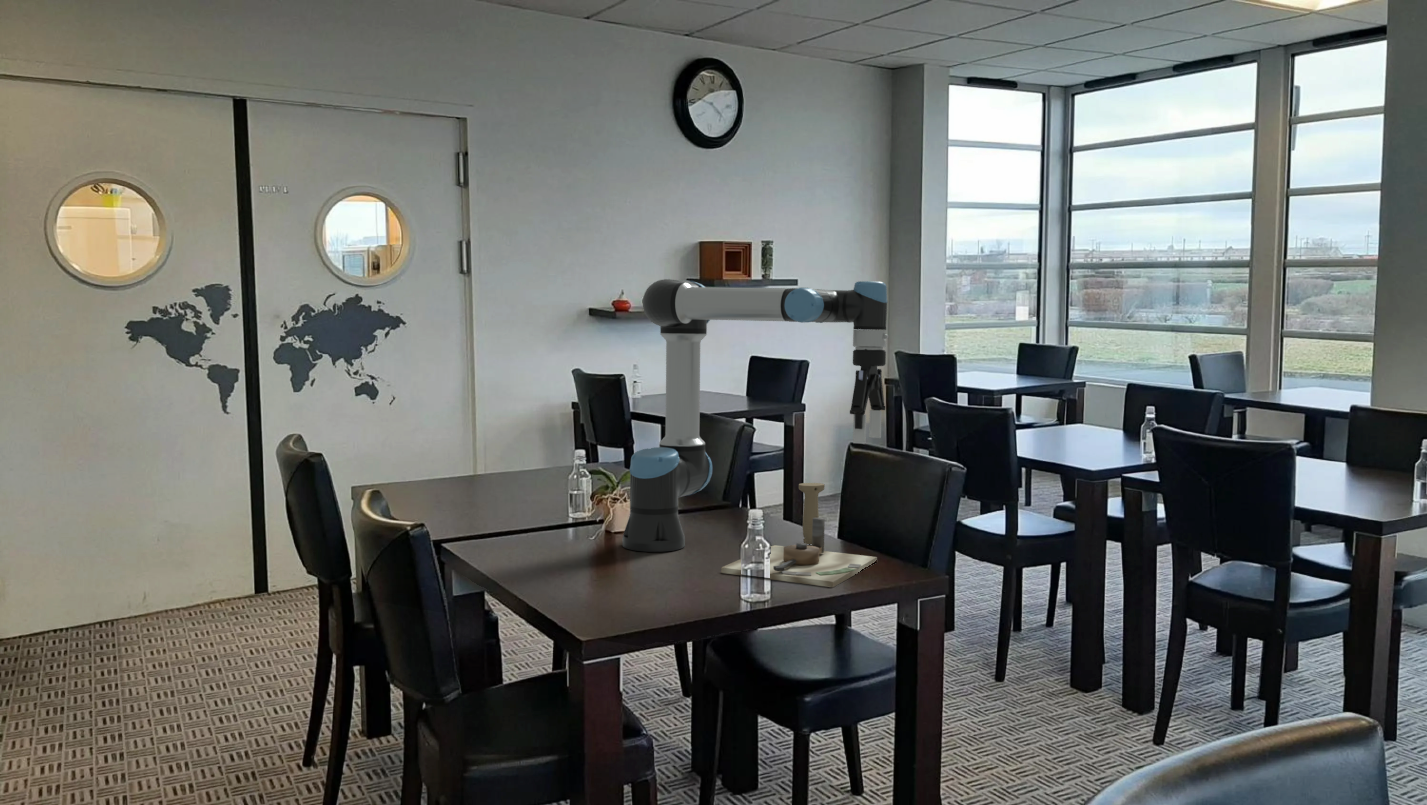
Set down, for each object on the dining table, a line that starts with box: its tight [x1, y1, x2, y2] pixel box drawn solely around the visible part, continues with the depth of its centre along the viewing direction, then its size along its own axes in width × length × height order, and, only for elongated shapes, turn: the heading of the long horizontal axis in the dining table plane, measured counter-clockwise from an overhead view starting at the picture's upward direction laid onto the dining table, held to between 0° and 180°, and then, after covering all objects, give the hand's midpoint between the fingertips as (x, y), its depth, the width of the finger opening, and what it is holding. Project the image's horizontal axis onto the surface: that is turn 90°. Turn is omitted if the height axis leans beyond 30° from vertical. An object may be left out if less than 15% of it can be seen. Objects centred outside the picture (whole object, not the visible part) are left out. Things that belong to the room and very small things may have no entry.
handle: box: [798, 482, 825, 544], centre depth 274 cm, size 5×6×15 cm
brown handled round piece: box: [774, 517, 826, 571], centre depth 248 cm, size 25×8×8 cm, turn 153°
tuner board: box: [720, 544, 878, 588], centre depth 249 cm, size 26×28×1 cm
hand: (867, 440), depth 257 cm, fingers open, 13 cm apart
